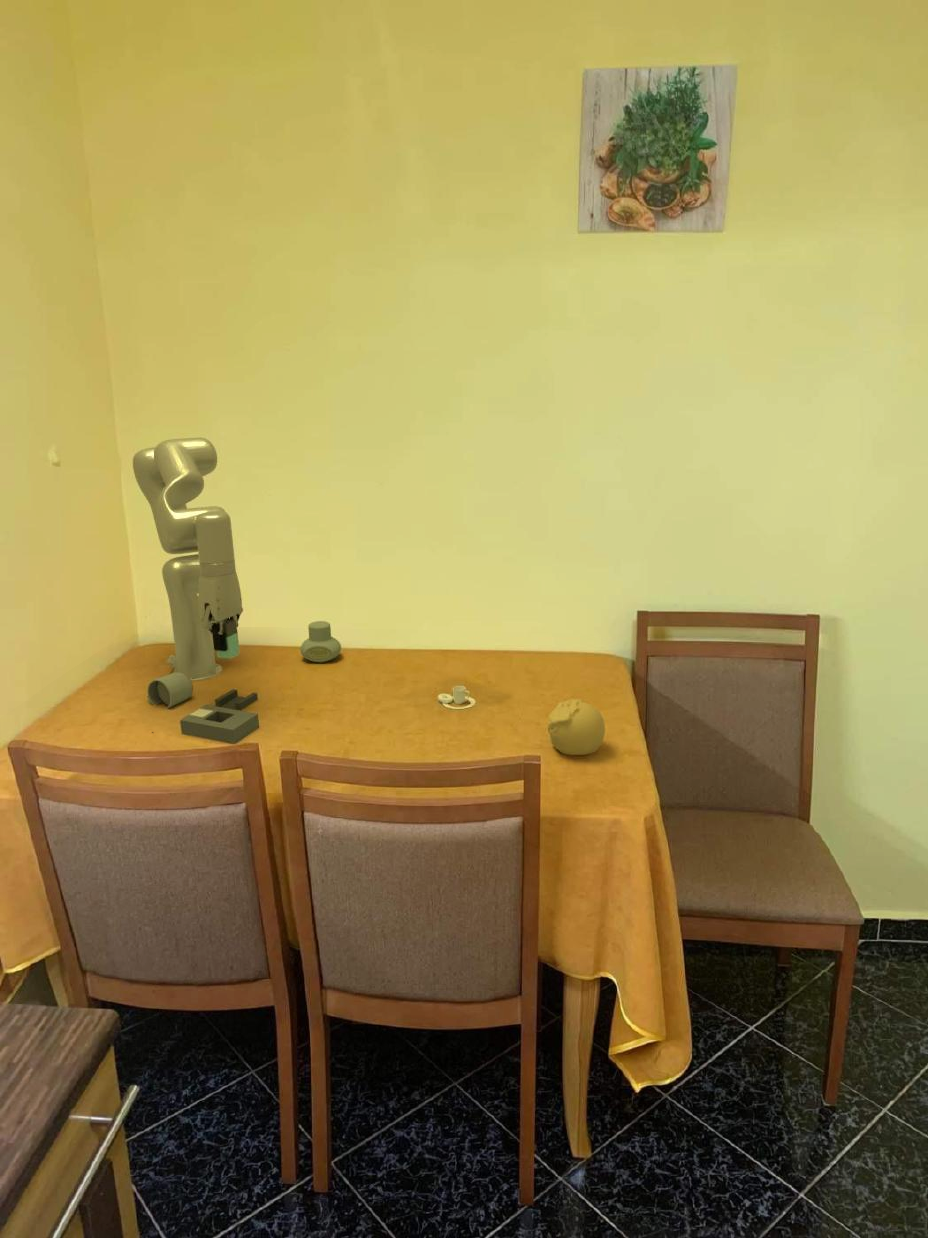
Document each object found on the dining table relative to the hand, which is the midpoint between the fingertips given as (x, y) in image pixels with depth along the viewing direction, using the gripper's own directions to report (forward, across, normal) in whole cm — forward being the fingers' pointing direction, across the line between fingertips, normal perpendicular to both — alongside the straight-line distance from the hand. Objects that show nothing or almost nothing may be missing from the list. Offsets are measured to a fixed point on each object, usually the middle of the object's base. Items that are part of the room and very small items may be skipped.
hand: (226, 646), depth 196 cm
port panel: (+17, +9, +3) cm, 19 cm away
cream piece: (+18, -28, +44) cm, 55 cm away
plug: (+2, 0, 0) cm, 2 cm away
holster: (+17, -5, -3) cm, 18 cm away
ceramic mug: (+17, -1, -19) cm, 26 cm away
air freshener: (+16, -40, 0) cm, 44 cm away
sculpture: (+19, -10, +78) cm, 81 cm away
